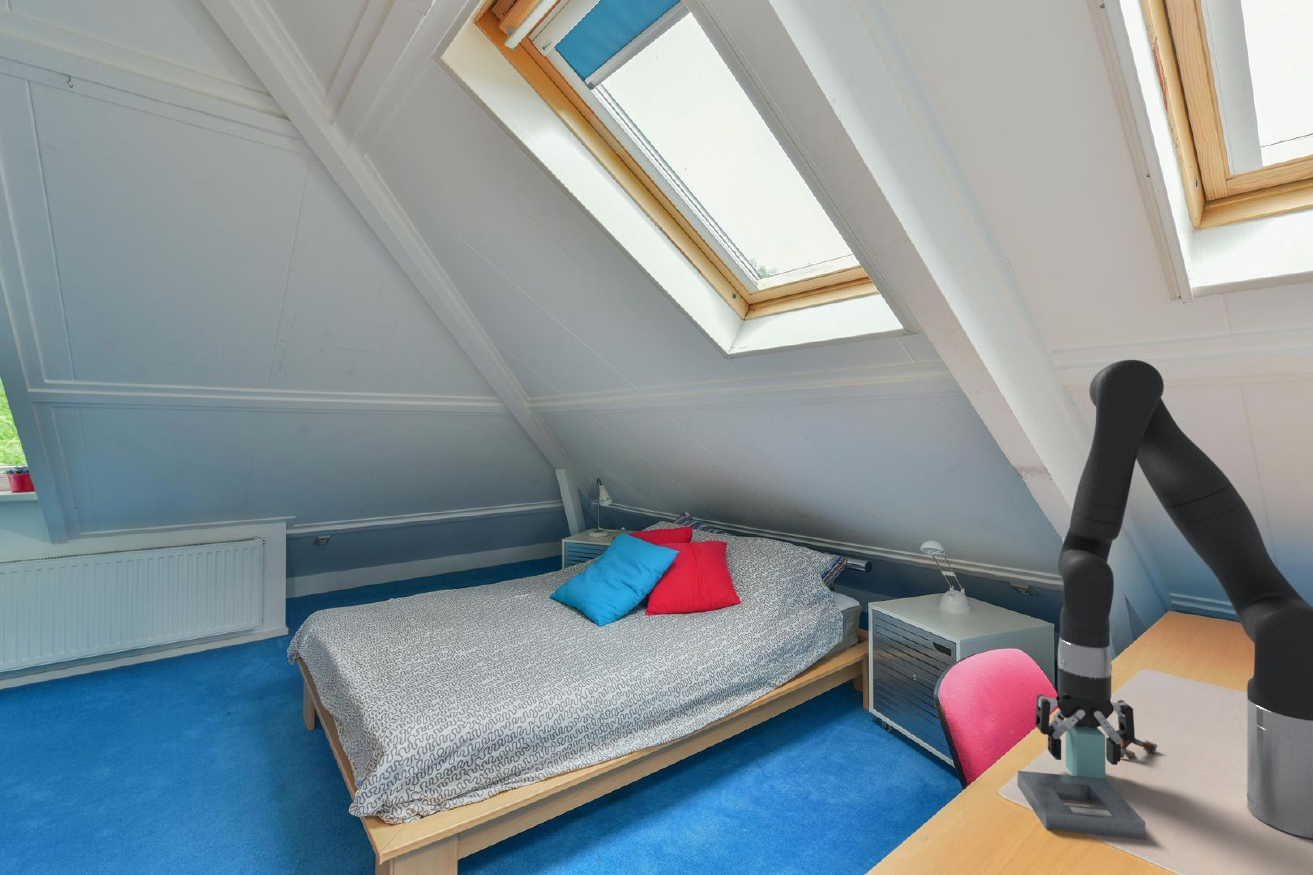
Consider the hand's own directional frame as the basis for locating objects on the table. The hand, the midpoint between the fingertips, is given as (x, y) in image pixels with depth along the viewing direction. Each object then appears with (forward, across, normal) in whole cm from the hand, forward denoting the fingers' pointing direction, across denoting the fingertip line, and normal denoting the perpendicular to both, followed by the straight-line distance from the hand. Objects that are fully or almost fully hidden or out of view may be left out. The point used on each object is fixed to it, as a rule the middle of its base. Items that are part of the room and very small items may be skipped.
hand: (1083, 759), depth 104 cm
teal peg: (+2, 0, 0) cm, 2 cm away
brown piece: (+3, -12, -8) cm, 15 cm away
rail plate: (+2, +6, +11) cm, 13 cm away
